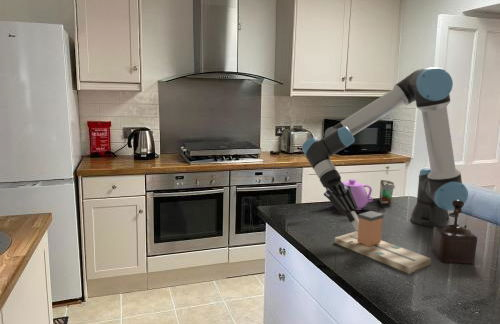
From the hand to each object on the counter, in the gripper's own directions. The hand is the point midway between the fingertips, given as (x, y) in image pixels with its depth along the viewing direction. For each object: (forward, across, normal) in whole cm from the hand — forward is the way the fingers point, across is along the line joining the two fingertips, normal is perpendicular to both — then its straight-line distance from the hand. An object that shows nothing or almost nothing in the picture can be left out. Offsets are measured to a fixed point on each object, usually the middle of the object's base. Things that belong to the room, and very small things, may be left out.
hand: (359, 228), depth 143 cm
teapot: (-18, -33, -28) cm, 47 cm away
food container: (-15, -57, -25) cm, 64 cm away
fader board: (+10, -1, +1) cm, 11 cm away
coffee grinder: (+21, -20, +12) cm, 31 cm away
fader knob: (+5, -1, 0) cm, 6 cm away
